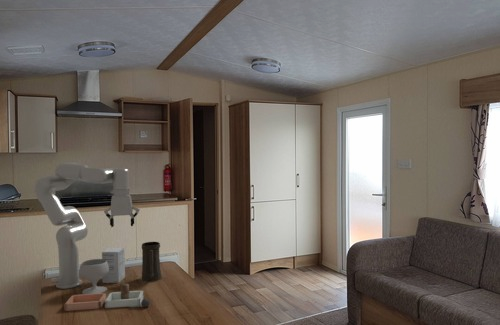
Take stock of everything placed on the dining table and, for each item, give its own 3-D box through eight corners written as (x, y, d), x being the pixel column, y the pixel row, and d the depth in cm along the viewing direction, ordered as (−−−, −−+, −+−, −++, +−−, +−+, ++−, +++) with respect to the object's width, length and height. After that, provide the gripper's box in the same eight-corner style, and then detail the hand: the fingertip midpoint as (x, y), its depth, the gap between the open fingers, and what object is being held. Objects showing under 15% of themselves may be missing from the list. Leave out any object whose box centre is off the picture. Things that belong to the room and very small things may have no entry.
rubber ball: (140, 308, 172) (140, 300, 171) (142, 305, 175) (141, 297, 175) (149, 307, 172) (149, 299, 172) (150, 304, 176) (149, 297, 176)
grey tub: (105, 309, 171) (104, 301, 171) (110, 299, 183) (110, 292, 182) (140, 306, 174) (140, 299, 174) (143, 297, 185) (143, 290, 185)
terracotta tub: (64, 312, 169) (64, 304, 169) (72, 302, 180) (72, 295, 180) (100, 309, 171) (100, 301, 171) (106, 300, 182) (106, 292, 182)
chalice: (99, 297, 186) (98, 266, 186) (73, 295, 189) (72, 265, 189) (114, 287, 200) (114, 258, 199) (90, 286, 203) (89, 257, 202)
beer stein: (139, 276, 216) (139, 242, 215) (159, 274, 221) (158, 239, 219) (144, 287, 203) (144, 249, 201) (164, 283, 207) (164, 247, 205)
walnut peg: (120, 303, 176) (119, 286, 176) (121, 300, 180) (121, 283, 179) (128, 303, 177) (128, 285, 176) (129, 300, 180) (129, 283, 180)
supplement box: (109, 277, 217) (108, 247, 217) (125, 277, 217) (124, 247, 216) (102, 283, 207) (101, 251, 207) (119, 282, 207) (118, 251, 207)
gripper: (102, 194, 191) (102, 228, 192) (137, 192, 194) (138, 226, 194) (105, 192, 199) (106, 225, 199) (140, 191, 201) (140, 224, 202)
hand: (122, 226), depth 197 cm, fingers open, 9 cm apart
